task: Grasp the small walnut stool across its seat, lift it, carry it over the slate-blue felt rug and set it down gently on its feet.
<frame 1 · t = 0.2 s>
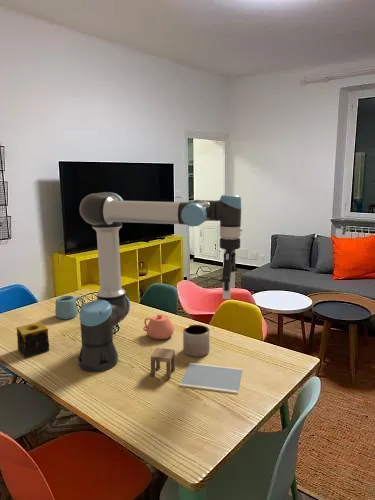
hand: (228, 293, 142), 28 cm above the table, fingers open, 13 cm apart
stool: (163, 373, 138), on the table
mug: (70, 316, 195), on the table
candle: (33, 351, 157), on the table
rug: (212, 377, 135), on the table
planter: (196, 351, 155), on the table
sugar bowl: (158, 336, 171), on the table
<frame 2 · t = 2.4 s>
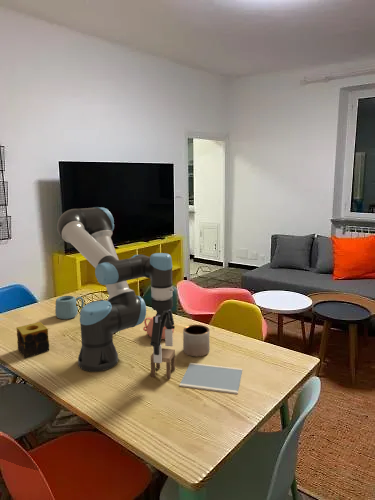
hand: (163, 353, 136), 8 cm above the table, fingers open, 13 cm apart
nothing on the table moved.
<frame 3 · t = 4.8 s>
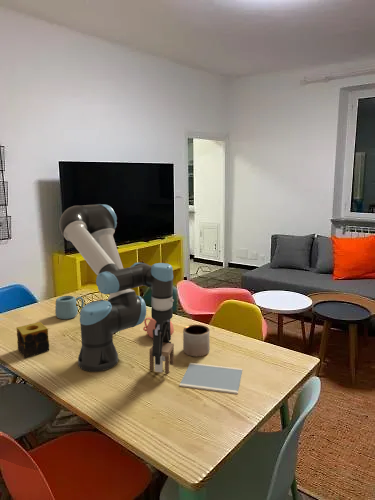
hand: (161, 365, 138), 3 cm above the table, fingers closed on stool, 7 cm apart
stool: (161, 366, 138), point 2 cm above the table, touching gripper
everything else where it was.
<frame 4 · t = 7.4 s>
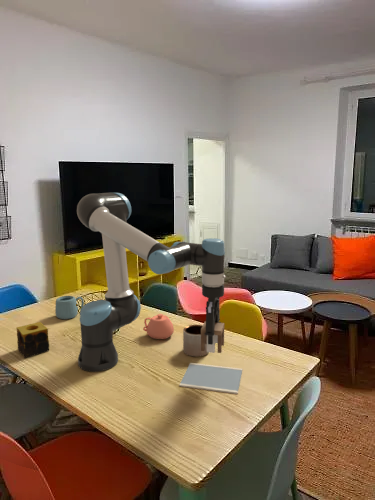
hand: (212, 346, 132), 12 cm above the table, fingers closed on stool, 7 cm apart
stool: (212, 347, 133), point 12 cm above the table, touching gripper
everything else where it was.
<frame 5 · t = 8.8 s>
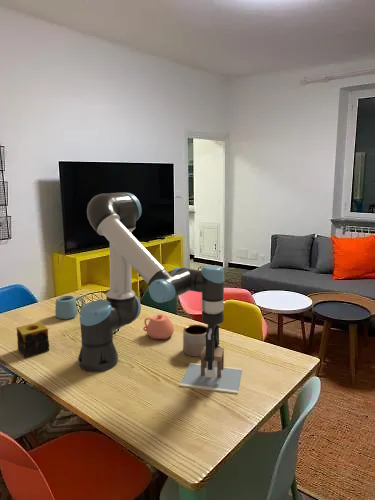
hand: (212, 371, 134), 3 cm above the table, fingers closed on stool, 7 cm apart
stool: (212, 372, 134), point 2 cm above the table, touching gripper
everything else where it was.
when the fingers open (1 cm above the table, at t = 10.0 s): stool stays where it is, resting on rug.
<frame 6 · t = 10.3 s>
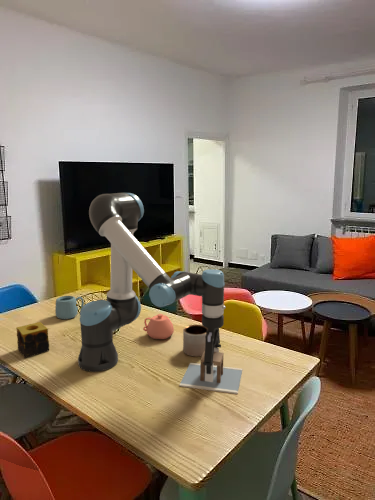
hand: (212, 372, 134), 2 cm above the table, fingers open, 11 cm apart
stool: (212, 376, 135), resting on rug
everything else where it was.
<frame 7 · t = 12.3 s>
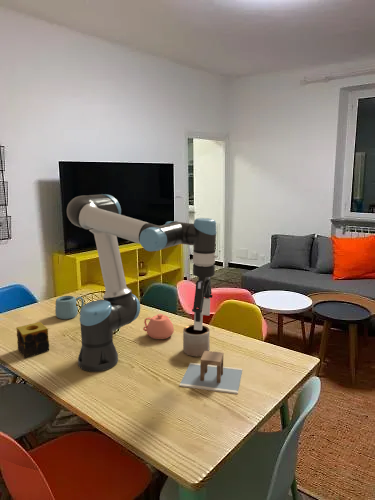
hand: (202, 322, 133), 20 cm above the table, fingers open, 13 cm apart
nothing on the table moved.
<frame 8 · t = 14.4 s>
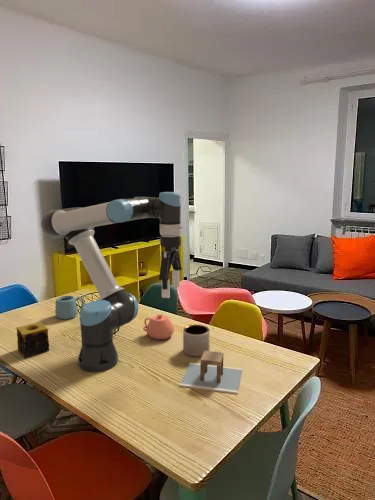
hand: (171, 291, 140), 29 cm above the table, fingers open, 13 cm apart
nothing on the table moved.
at the end: stool inside the target area on the rug (0.0 cm from its centre), point 0.4 cm above the rug's base; stool tilted 0°; the gripper is holding nothing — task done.
